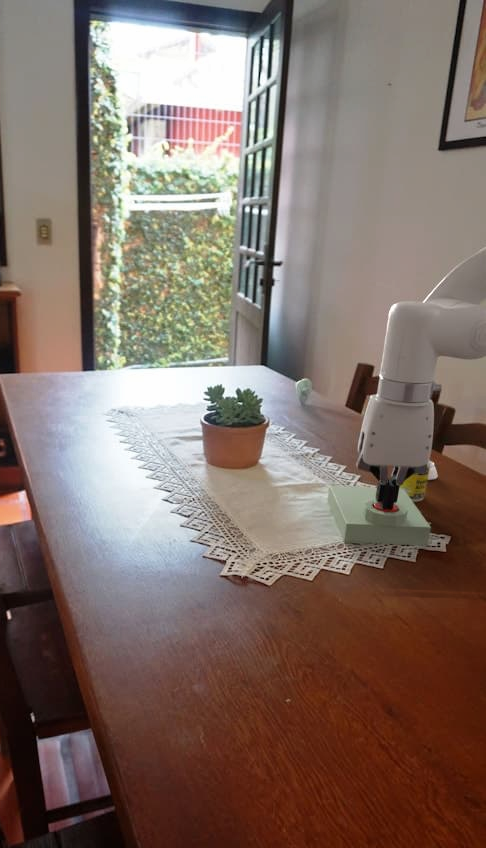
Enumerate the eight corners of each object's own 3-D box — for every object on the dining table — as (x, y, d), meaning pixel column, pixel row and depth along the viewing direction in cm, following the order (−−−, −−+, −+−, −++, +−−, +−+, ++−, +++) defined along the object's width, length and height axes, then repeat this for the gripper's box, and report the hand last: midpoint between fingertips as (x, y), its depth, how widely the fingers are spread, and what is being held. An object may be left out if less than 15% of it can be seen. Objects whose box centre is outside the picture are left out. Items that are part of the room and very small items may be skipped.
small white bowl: (411, 479, 133) (438, 482, 132) (414, 465, 131) (441, 468, 131) (409, 471, 137) (435, 473, 136) (412, 457, 136) (438, 460, 135)
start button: (392, 511, 109) (394, 501, 108) (398, 521, 106) (400, 511, 105) (370, 511, 109) (372, 500, 108) (375, 520, 105) (377, 510, 105)
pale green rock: (290, 399, 186) (292, 375, 184) (304, 399, 187) (307, 375, 184) (301, 407, 179) (303, 382, 176) (315, 407, 180) (318, 382, 177)
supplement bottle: (415, 505, 121) (424, 452, 117) (387, 496, 124) (396, 445, 120) (429, 497, 124) (438, 446, 121) (402, 489, 128) (410, 439, 124)
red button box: (400, 505, 121) (405, 478, 119) (428, 546, 106) (433, 517, 104) (327, 502, 120) (330, 475, 118) (344, 543, 105) (348, 513, 103)
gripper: (446, 386, 103) (425, 499, 110) (348, 382, 103) (333, 494, 110) (464, 399, 96) (440, 518, 103) (358, 394, 96) (341, 513, 103)
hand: (385, 505), depth 106 cm, fingers closed
